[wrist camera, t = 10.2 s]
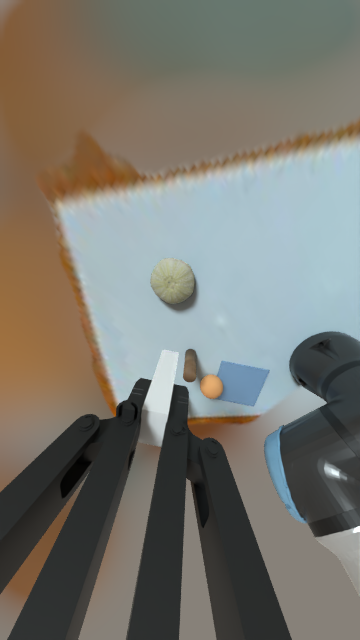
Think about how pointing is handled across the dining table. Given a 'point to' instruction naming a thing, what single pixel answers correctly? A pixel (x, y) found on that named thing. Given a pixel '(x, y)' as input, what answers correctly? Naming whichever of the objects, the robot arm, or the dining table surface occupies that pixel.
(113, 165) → the dining table surface
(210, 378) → the ball
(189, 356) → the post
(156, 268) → the sea urchin shell
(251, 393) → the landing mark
